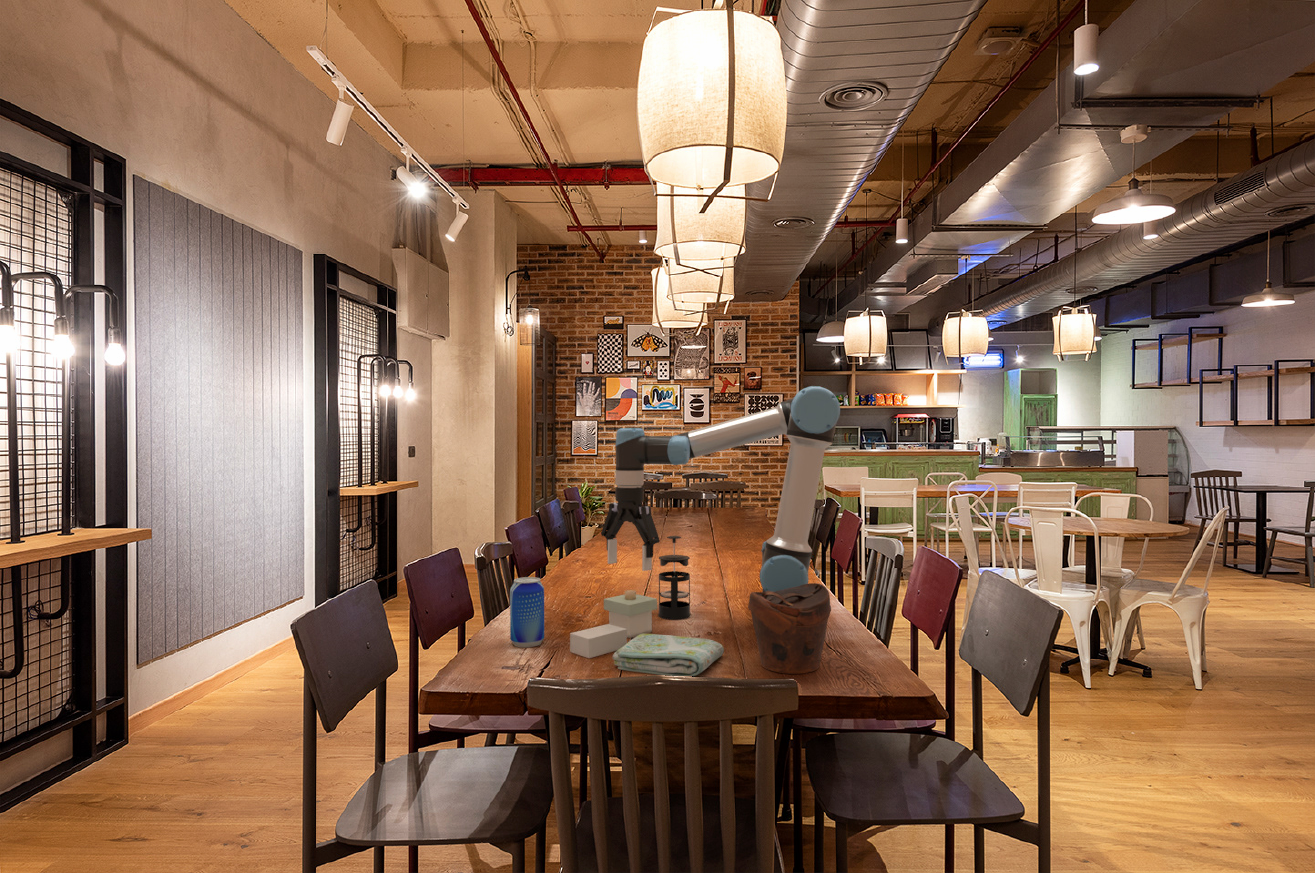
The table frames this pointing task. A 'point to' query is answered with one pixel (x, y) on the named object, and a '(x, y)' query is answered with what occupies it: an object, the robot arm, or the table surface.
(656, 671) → the towel
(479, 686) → the table surface
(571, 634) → the block
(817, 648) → the brown tapered bucket
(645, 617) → the open white box
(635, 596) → the lid
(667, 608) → the french press
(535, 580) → the beer can
